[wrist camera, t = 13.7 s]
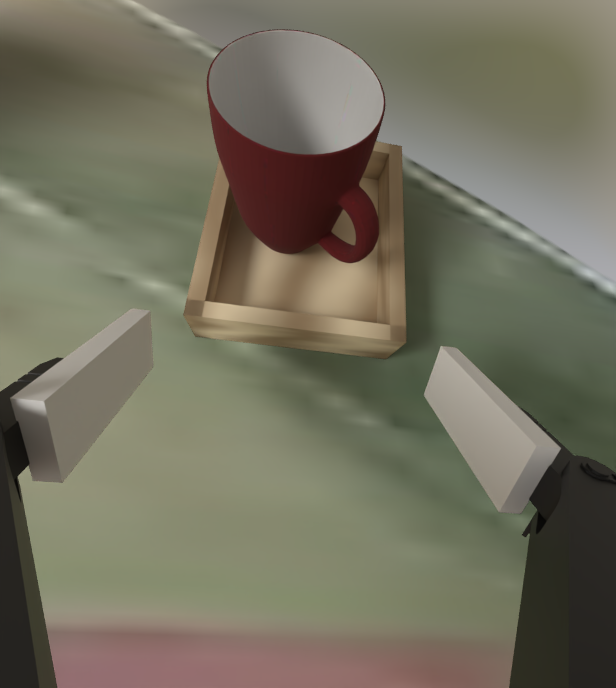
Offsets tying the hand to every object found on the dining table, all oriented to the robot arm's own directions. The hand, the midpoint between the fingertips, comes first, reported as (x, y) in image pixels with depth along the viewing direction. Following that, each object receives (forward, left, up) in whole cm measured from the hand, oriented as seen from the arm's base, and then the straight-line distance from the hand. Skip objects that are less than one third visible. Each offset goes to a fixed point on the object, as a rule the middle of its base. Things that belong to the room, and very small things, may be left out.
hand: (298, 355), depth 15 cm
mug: (0, +10, -6) cm, 12 cm away
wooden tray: (0, +11, -7) cm, 13 cm away
